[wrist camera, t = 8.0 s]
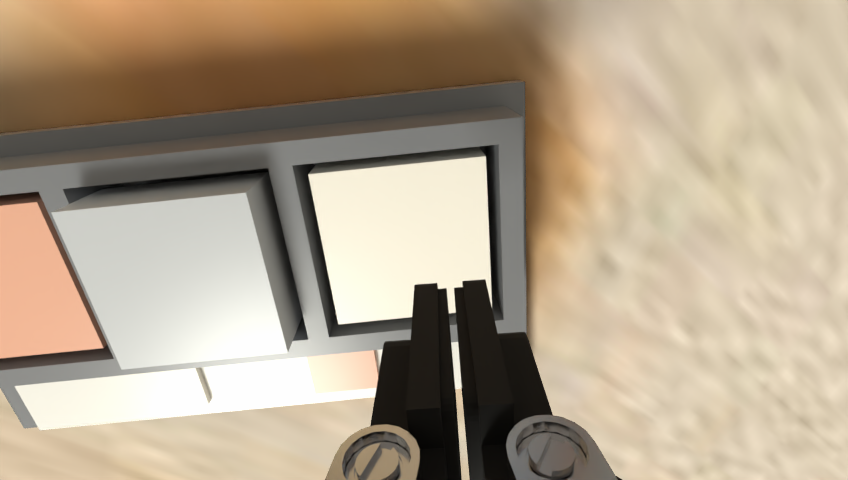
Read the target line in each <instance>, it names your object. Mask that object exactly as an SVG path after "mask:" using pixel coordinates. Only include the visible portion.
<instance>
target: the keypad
mask: <svg viewBox="0 0 848 480" xmlns="http://www.w3.org/2000/svg"><path fill="white" fill-rule="evenodd" d="M469 147H480V149H481V150H482V152H483V153H484V154H485V156H486V170H487V195H488V219H489V244H490V268H491V292H492V311H493V315H494V320H495V324H496V328H497V333H512V332H525V333H526V335H527V332H526V162H525V81H521V80H513V81H503V82H493V83H484V84H474V85H464V86H454V87H445V88H435V89H425V90H416V91H406V92H396V93H386V94H377V95H367V96H357V97H348V98H338V99H328V100H318V101H309V102H299V103H289V104H280V105H270V106H260V107H250V108H241V109H231V110H221V111H212V112H202V113H192V114H182V115H173V116H163V117H153V118H144V119H134V120H124V121H114V122H105V123H95V124H85V125H76V126H66V127H56V128H46V129H37V130H27V131H17V132H8V133H0V195H9V194H19V193H29V192H38V191H39V194H40V196H41V198H42V200H43V203H44V205H45V207H46V209H47V211H48V214H49V216H50V218H51V220H52V222H53V225H54V227H55V229H56V231H57V234H58V236H59V238H60V240H61V242H62V245H63V247H64V249H65V251H66V253H67V256H68V258H69V260H70V262H71V265H72V267H73V269H74V271H75V273H76V276H77V278H78V280H79V282H80V285H81V287H82V289H83V291H84V293H85V296H86V298H87V300H88V302H89V304H90V307H91V309H92V311H93V313H94V316H95V318H96V320H97V322H98V324H99V327H100V329H101V331H102V333H103V335H104V338H105V340H106V342H107V345H106V346H105V347H104V348H100V349H90V350H80V351H70V352H60V353H50V354H40V355H30V356H20V357H10V358H0V388H1V390H2V392H3V393H4V395H5V397H6V398H7V400H8V402H9V403H10V405H11V407H12V408H13V410H14V412H15V414H16V415H17V417H18V419H19V420H20V422H21V424H22V425H23V427H24V428H33V427H38V428H39V430H47V429H57V428H67V427H77V426H87V425H97V424H107V423H117V422H128V421H138V420H148V419H158V418H168V417H178V416H188V415H198V414H208V413H218V412H228V411H238V410H248V409H258V408H268V407H278V406H289V405H299V404H309V403H319V402H329V401H339V400H349V399H359V398H369V397H375V394H376V388H377V382H378V375H379V369H380V363H381V356H382V350H383V345H384V342H385V341H398V340H411V327H412V317H408V318H398V319H388V320H378V321H368V322H358V323H348V324H338V320H337V315H336V310H335V305H334V300H333V295H332V290H331V285H330V280H329V275H328V271H327V266H326V261H325V256H324V251H323V246H322V241H321V236H320V231H319V226H318V221H317V216H316V211H315V206H314V201H313V196H312V191H311V186H310V181H309V176H308V174H309V173H310V171H311V170H312V169H313V168H314V166H315V165H316V164H317V163H322V162H332V161H342V160H352V159H361V158H371V157H381V156H391V155H400V154H410V153H420V152H430V151H440V150H449V149H459V148H469ZM263 172H269V174H270V179H271V183H272V187H273V191H274V196H275V200H276V204H277V208H278V212H279V217H280V221H281V225H282V229H283V234H284V238H285V242H286V246H287V251H288V255H289V259H290V263H291V267H292V272H293V276H294V280H295V284H296V289H297V293H298V297H299V301H300V306H301V310H302V314H303V316H302V318H301V321H300V323H299V326H298V328H297V331H296V334H295V336H294V339H293V341H292V344H291V346H290V349H289V352H288V353H283V354H273V355H263V356H253V357H243V358H233V359H223V360H213V361H203V362H193V363H183V364H173V365H163V366H153V367H143V368H133V369H123V370H121V367H120V365H119V363H118V361H117V358H116V356H115V354H114V352H113V350H112V347H111V345H110V343H109V341H108V338H107V336H106V334H105V332H104V329H103V327H102V325H101V323H100V321H99V318H98V316H97V314H96V312H95V309H94V307H93V305H92V303H91V300H90V298H89V296H88V294H87V292H86V289H85V287H84V285H83V283H82V280H81V278H80V276H79V274H78V271H77V269H76V267H75V265H74V263H73V260H72V258H71V256H70V254H69V251H68V249H67V247H66V245H65V242H64V240H63V238H62V236H61V234H60V231H59V229H58V227H57V225H56V222H55V220H54V218H53V216H52V213H51V212H53V211H55V210H58V209H60V208H62V207H64V206H66V205H68V204H71V203H73V202H75V201H77V200H79V199H81V198H83V197H86V196H88V195H90V194H92V193H94V192H96V191H99V190H101V189H106V188H116V187H126V186H136V185H145V184H155V183H165V182H175V181H185V180H194V179H204V178H214V177H224V176H234V175H243V174H253V173H263ZM449 322H450V333H451V345H452V357H453V368H454V380H455V389H460V388H462V385H461V372H460V360H459V347H458V334H457V321H456V313H449Z"/></svg>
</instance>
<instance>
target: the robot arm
mask: <svg viewBox="0 0 848 480" xmlns="http://www.w3.org/2000/svg"><path fill="white" fill-rule="evenodd" d="M462 286H463V287H456V288H454V296H455V308H456V321H457V334H458V347H459V360H460V372H461V385H462V397H463V408H464V419H465V431H466V442H467V453H468V465H469V476H470V480H622V479H620V478H618V477H617V476H615V474H614V473H613V471H612V469H611V468H610V466H609V464H608V463H607V461H606V459H605V458H604V456H603V454H602V453H601V451H600V449H599V448H598V446H597V444H596V443H595V441H594V440H593V439H592V437H591V436H590V435H589V434H588V433H587V431H586V430H584V429H583V428H582V427H580V426H579V425H577V424H576V423H575V422H572V421H570V420H568V419H565V418H563V417H558V416H553V415H552V412H551V408H550V405H549V402H548V399H547V396H546V393H545V390H544V387H543V384H542V381H541V378H540V375H539V372H538V368H537V365H536V362H535V359H534V356H533V353H532V350H531V347H530V344H529V341H528V338H527V335H526V333H525V332H512V333H497V328H496V324H495V320H494V315H493V311H492V306H491V302H490V298H489V293H488V289H487V284H486V280H485V279H482V280H469V281H462ZM325 480H461V466H460V451H459V437H458V422H457V408H456V393H455V380H454V368H453V357H452V345H451V333H450V322H449V310H448V298H447V288H443V289H438V285H437V283H430V284H416V285H414V298H413V313H412V327H411V340H398V341H385V342H384V345H383V350H382V356H381V363H380V369H379V375H378V382H377V388H376V394H375V401H374V407H373V414H372V420H371V426H370V427H367V428H364V429H361V430H359V431H358V432H356V433H354V434H353V435H351V436H350V437H349V438H348V439H347V440H346V441H345V442H344V443H343V444H341V446H340V448H339V449H338V451H337V453H336V454H335V456H334V459H333V461H332V464H331V466H330V469H329V471H328V474H327V476H326V479H325Z"/></svg>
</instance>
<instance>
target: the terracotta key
mask: <svg viewBox="0 0 848 480" xmlns="http://www.w3.org/2000/svg"><path fill="white" fill-rule="evenodd" d="M106 345H107V342H106V340H105V338H104V335H103V333H102V331H101V329H100V327H99V324H98V322H97V320H96V318H95V316H94V313H93V311H92V309H91V307H90V304H89V302H88V300H87V298H86V296H85V293H84V291H83V289H82V287H81V285H80V282H79V280H78V278H77V276H76V273H75V271H74V269H73V267H72V265H71V262H70V260H69V258H68V256H67V253H66V251H65V249H64V247H63V245H62V242H61V240H60V238H59V236H58V234H57V231H56V229H55V227H54V225H53V222H52V220H51V218H50V216H49V214H48V211H47V209H46V207H45V205H44V203H43V200H42V198H41V196H40V194H39V191H38V192H29V193H19V194H9V195H0V358H10V357H20V356H30V355H40V354H50V353H60V352H70V351H80V350H90V349H100V348H104V347H105V346H106Z"/></svg>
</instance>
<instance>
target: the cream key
mask: <svg viewBox="0 0 848 480" xmlns="http://www.w3.org/2000/svg"><path fill="white" fill-rule="evenodd" d="M308 176H309V181H310V186H311V191H312V196H313V201H314V206H315V211H316V216H317V221H318V226H319V231H320V236H321V241H322V246H323V251H324V256H325V261H326V266H327V271H328V275H329V280H330V285H331V290H332V295H333V300H334V305H335V310H336V315H337V320H338V324H348V323H358V322H368V321H378V320H388V319H398V318H408V317H412V313H413V298H414V285H416V284H430V283H437V285H438V289H443V288H447V298H448V310H449V313H456V308H455V296H454V288H456V287H463V286H462V281H469V280H482V279H485V280H486V284H487V289H488V293H489V298H490V302H491V306H492V292H491V268H490V244H489V219H488V195H487V170H486V156H485V154H484V153H483V152H482V150H481V149H480V147H469V148H459V149H449V150H440V151H430V152H420V153H410V154H400V155H391V156H381V157H371V158H361V159H352V160H342V161H332V162H322V163H317V164H316V165H315V166H314V168H313V169H312V170H311V171H310V173H309V174H308Z"/></svg>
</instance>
